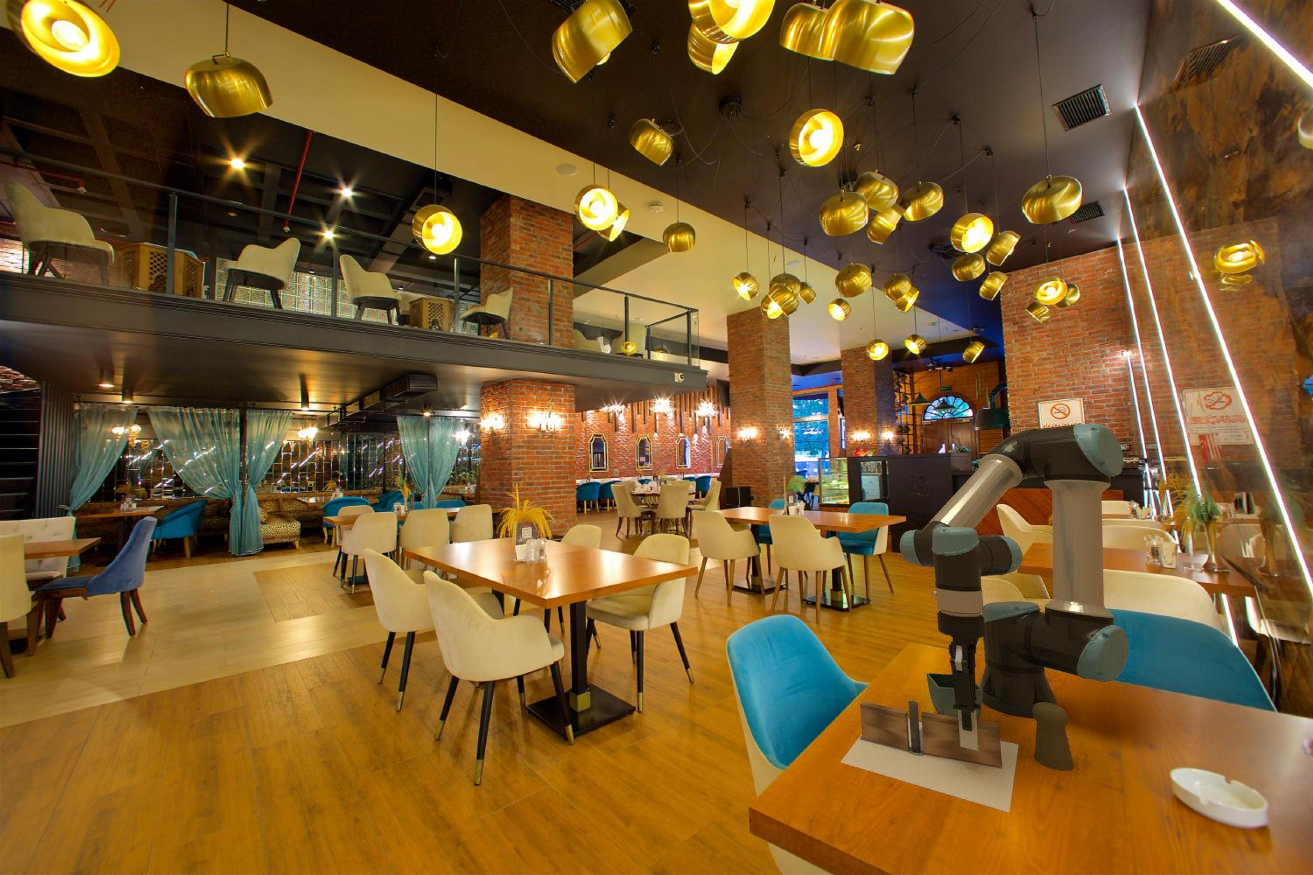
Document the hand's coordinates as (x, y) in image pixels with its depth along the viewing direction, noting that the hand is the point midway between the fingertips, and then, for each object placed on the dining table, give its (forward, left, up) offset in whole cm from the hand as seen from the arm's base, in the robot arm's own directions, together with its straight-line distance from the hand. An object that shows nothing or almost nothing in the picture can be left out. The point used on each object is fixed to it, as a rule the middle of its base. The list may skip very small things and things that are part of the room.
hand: (969, 747), depth 94 cm
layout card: (+7, -2, -5) cm, 8 cm away
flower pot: (+5, -21, -5) cm, 22 cm away
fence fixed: (+14, -1, -4) cm, 14 cm away
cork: (-12, -11, -5) cm, 17 cm away
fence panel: (+2, -2, -3) cm, 4 cm away
